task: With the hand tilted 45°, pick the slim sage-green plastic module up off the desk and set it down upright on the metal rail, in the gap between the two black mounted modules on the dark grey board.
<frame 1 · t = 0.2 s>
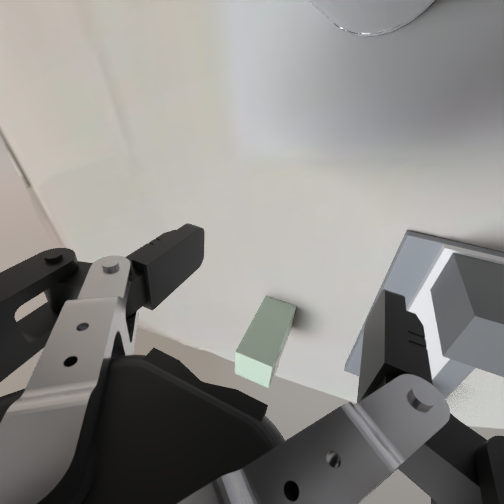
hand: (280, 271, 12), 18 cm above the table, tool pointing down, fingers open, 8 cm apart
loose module: (279, 311, 39), on the table
rail board: (424, 328, 31), on the table
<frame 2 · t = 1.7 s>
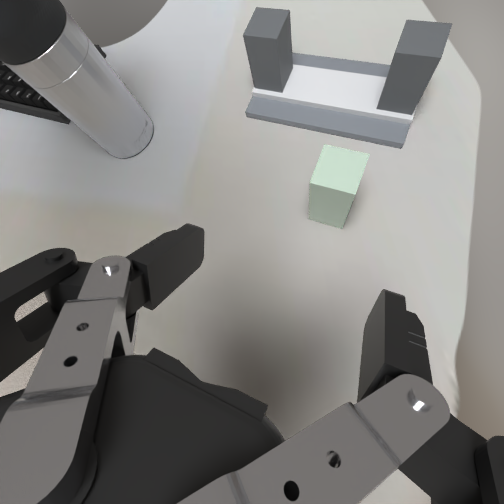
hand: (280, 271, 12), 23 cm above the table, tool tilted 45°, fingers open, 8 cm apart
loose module: (330, 208, 36), on the table
computer keyboard: (12, 77, 57), on the table
rail board: (331, 97, 40), on the table
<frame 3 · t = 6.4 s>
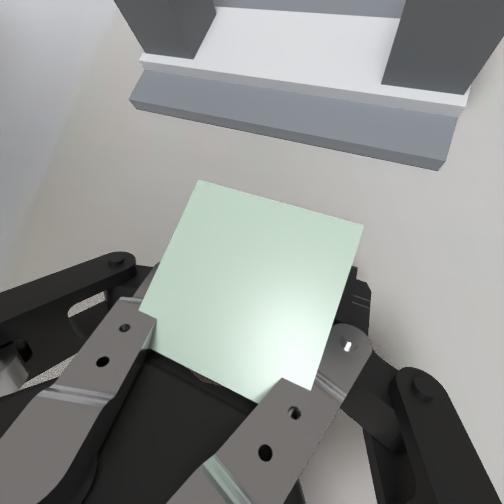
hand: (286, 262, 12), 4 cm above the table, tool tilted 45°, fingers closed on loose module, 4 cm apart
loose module: (280, 307, 16), on the table, touching gripper
rail board: (290, 68, 20), on the table
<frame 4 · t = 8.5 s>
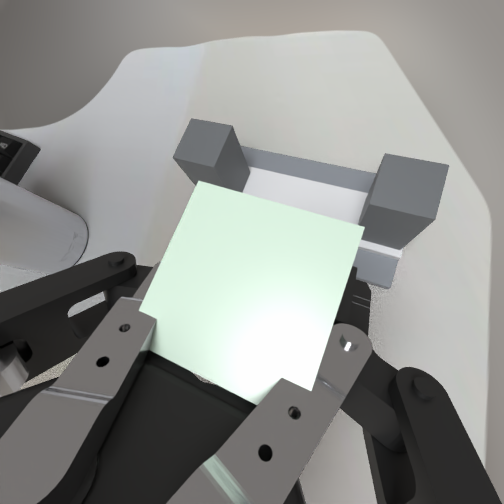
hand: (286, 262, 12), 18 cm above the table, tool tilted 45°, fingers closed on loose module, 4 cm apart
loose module: (280, 308, 16), point 14 cm above the table, touching gripper
rail board: (298, 209, 32), on the table
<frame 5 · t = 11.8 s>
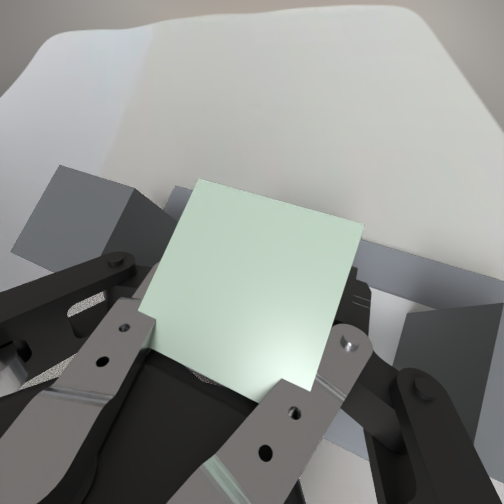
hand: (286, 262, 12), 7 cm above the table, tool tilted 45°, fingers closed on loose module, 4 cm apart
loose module: (281, 307, 16), point 3 cm above the table, touching gripper
rail board: (284, 308, 18), on the table
when the fingers open (7 cm above the table, at t = 11.8 s): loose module stays where it is, resting on rail board.
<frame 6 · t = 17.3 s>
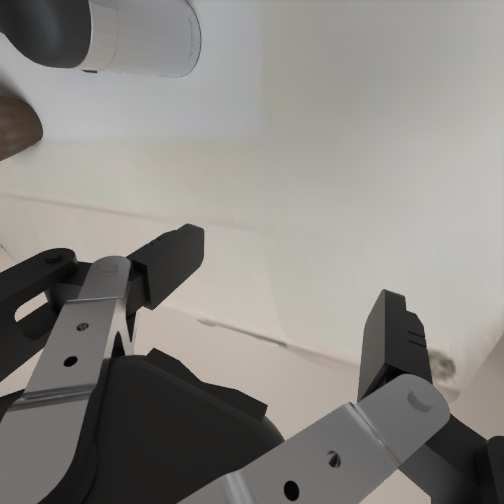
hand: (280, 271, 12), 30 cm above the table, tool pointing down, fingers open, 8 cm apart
plant pot: (31, 122, 58), on the table
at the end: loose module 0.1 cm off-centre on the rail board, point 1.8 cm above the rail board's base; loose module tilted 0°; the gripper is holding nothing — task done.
